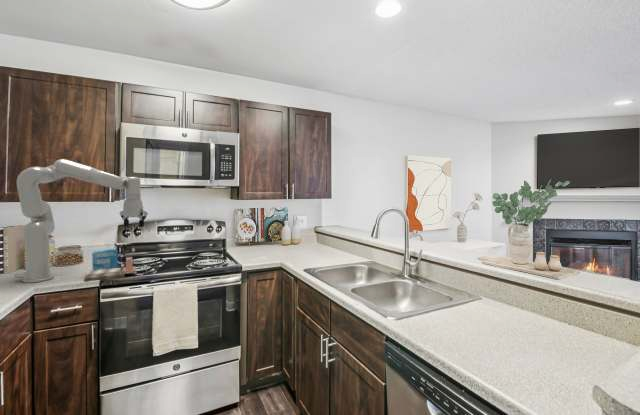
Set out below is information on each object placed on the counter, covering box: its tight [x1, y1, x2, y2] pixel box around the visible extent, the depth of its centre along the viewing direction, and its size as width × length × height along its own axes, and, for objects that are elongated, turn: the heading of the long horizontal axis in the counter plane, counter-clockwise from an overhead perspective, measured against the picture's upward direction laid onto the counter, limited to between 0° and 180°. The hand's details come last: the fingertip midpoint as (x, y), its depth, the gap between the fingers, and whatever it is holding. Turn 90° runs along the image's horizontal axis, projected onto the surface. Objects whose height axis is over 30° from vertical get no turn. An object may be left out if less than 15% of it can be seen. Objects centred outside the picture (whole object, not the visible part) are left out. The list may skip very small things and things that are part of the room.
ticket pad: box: [83, 267, 126, 282], centre depth 172 cm, size 18×10×4 cm, turn 122°
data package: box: [91, 248, 119, 270], centre depth 188 cm, size 12×4×12 cm, turn 143°
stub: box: [122, 256, 136, 274], centre depth 178 cm, size 6×9×8 cm, turn 32°
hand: (134, 226), depth 183 cm, fingers open, 9 cm apart
